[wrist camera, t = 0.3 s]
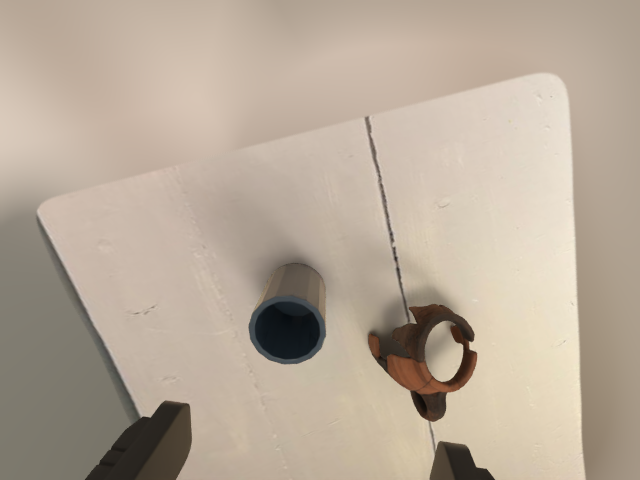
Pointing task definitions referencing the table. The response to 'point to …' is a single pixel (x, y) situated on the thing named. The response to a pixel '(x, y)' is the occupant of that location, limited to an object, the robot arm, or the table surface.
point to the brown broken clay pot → (414, 369)
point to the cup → (290, 315)
